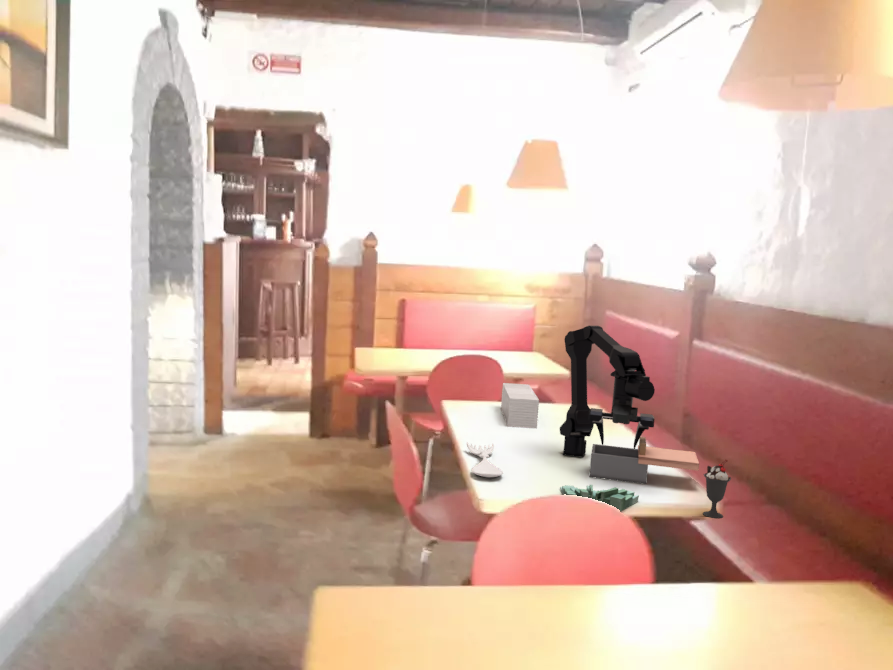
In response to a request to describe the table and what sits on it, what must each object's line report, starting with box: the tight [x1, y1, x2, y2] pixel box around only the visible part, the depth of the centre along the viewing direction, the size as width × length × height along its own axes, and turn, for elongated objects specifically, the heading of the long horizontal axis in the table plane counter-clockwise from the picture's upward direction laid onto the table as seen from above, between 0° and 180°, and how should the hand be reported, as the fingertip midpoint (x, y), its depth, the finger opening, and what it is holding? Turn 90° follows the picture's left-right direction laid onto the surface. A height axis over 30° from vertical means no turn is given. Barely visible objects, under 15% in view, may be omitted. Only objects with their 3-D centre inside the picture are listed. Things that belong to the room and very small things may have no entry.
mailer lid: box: [637, 436, 700, 471], centre depth 226 cm, size 16×14×5 cm
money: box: [559, 484, 640, 512], centre depth 204 cm, size 20×16×5 cm
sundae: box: [702, 459, 732, 520], centre depth 198 cm, size 7×7×15 cm
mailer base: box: [589, 443, 649, 485], centre depth 229 cm, size 16×12×7 cm
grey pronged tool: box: [466, 441, 504, 478], centre depth 230 cm, size 9×32×4 cm, turn 2°
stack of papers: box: [500, 382, 540, 429], centre depth 299 cm, size 32×11×11 cm, turn 0°
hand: (618, 446), depth 229 cm, fingers open, 9 cm apart
